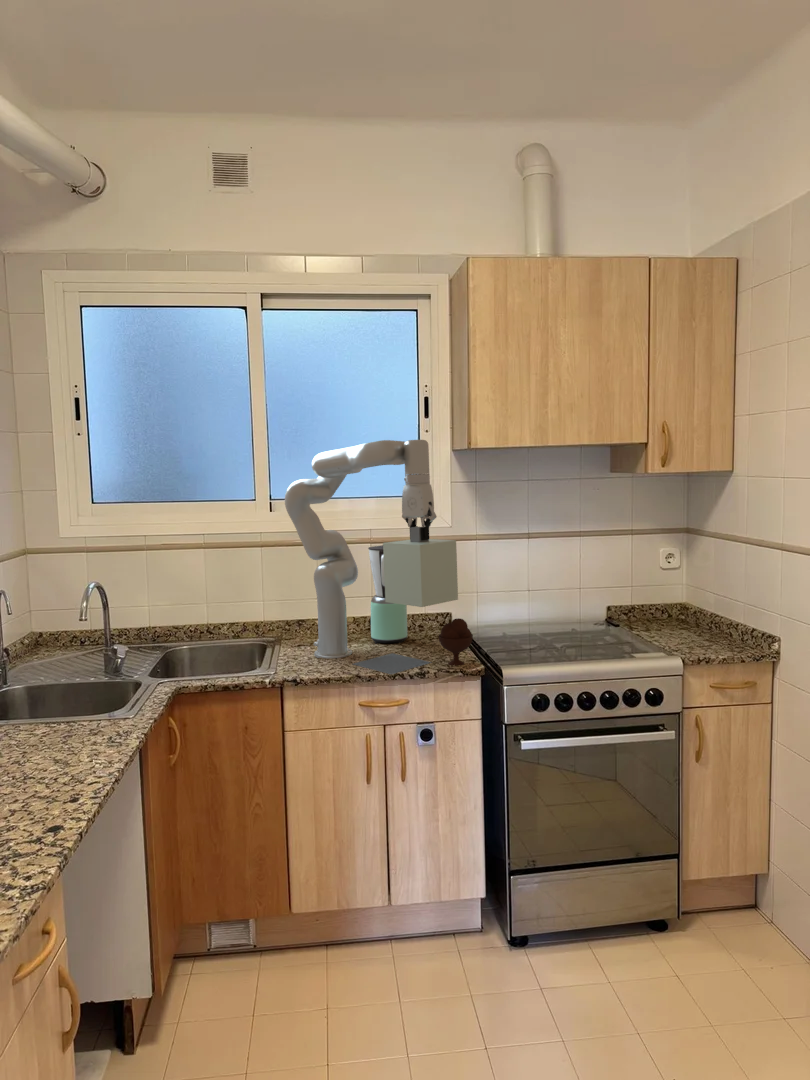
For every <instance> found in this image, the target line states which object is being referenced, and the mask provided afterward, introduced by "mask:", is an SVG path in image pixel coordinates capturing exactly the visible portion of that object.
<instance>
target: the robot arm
mask: <svg viewBox="0 0 810 1080" xmlns="http://www.w3.org/2000/svg"><path fill="white" fill-rule="evenodd" d="M429 450H430V447H429V443H428V440H425V439H409V440H406V441H405V440H403V441H402V440H392V439H391V440H390V439H384V440H376V441H371V442H366V443H362V444H361V443H360V444H358V445H354V446H353V445H352V446H348V447H343V448H338V449H333V450H332V449H331V450H327V451H322V452H319V453H317V454H316V455H315V456H314V457H313V459H312V461H311V468H312V471H313V473H314V474H315V475H316V476H318V477H317V478H301V479H298V480H295V481H293V482H292V483H290V485H289V486H288V487H287V489H286V492H285V494H284V505H285V509H286V512H287V515H288V516H289V518H290V520H291V522H292V524H293V525H294V528H295V530H296V533H297V535H298V537H299V539H300V542H301V544H302V546H303V548H304V551H305V553H306V555H307V556H308V557H309V559H311V560H315V561H321V560H327V561H325V562H322V563H320V564H319V565H318V566H317V567H316V568H315V570H314V573H313V583H314V588H315V593H316V603H317V604H316V605H317V627H318V629H317V631H318V632H317V633H318V639H317V640H316V641H314V642H313V646H315V647H317V649H316V650H315V651H314V653H313V654H314V657H315V658H317V659H320V658H321V659H340V658H346V657H349V656H351V655H352V654H353V650H352V649H351V648H348V623H347V622H348V621H347V601H346V595H345V593H344V590H343V588H345V587H348V586H351V585H352V584H354V583H355V582H356V580H358V576H359V569H358V568H359V567H358V565H357V563H356V560H355V558H354V557H353V553H352V552H351V549H350V547H349V545H348V542H347V541H346V539H345V537H344V536H343V535H342V534H341V533H340V532H338V531H337V530H335V529H327V530H326V529H325V528H324V526H323V523H322V522H321V519H320V517H319V515H318V514H317V513H316V512H315V511H314V510H313V508H312V507H311V505H317V504H323V503H326V502H328V501H329V500H331V498H333V496H334V495H335V493H336V492H337V490H338V489H339V487H340V486H341V484H342V483H343V482H344V480H345V478H346V477H347V476H348V475H353V474H357V473H361V471H362V470H363V469H368V468H375V467H379V466H380V467H381V466H392V465H393V466H401V465H404V482H405V485H403V487H402V497H401V513H402V515H401V518H402V519H403V520H404V521H405V522H406V523H407V526H408V527H409V528H410V527H419V526H418V525H417V524H418V518H420V524H421V526H420V527H421V540H429V539H430V527H431V524H433V521H434V520H436V519H437V514H436V511H435V501H434V493H433V488H432V484H431V478H430V477H431V476H430V452H429Z"/></svg>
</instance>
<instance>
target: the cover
mask: <svg viewBox="0 0 810 1080" xmlns="http://www.w3.org/2000/svg"><path fill="white" fill-rule="evenodd" d="M421 527H422V526H418V527H409V539H405V540H396V541H389V542H382V545H383V553H384V578H385V602H389V603H396V604H403V605H407V606H411V607H418V608H424V607H430V606H435V605H438V604H443V603H447V602H453V601H456V600H457V601H458V600H459V590H458V589H459V588H458V587H459V585H458V584H459V582H458V557H457V556H458V555H457V540H456V539H455V540H453V539H438V538H435V539H434V538H429V540H421Z"/></svg>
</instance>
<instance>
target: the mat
mask: <svg viewBox="0 0 810 1080" xmlns="http://www.w3.org/2000/svg"><path fill="white" fill-rule="evenodd" d="M431 663H433V662H432V661H427V660H423V659H420V658H419V659H418V658H415V657H410V656H407V655H401V654H398V653H397V654H396V653H388V654H384V655H381V656H377V657H373V658H369V659H365V660H362V661H358V662H355V663H352V665H353V666H358V667H361V668H365V669H369V670H373V671H376V672H379V673H384V674H389V675H395V674H397V673H401V672H405V671H407V670H408V671H409V670H412V669H414V668H419V667H423V666H425V665H428V664H431Z"/></svg>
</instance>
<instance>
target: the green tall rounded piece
mask: <svg viewBox="0 0 810 1080" xmlns="http://www.w3.org/2000/svg"><path fill="white" fill-rule="evenodd" d="M367 549H368V553H369V564H370V569H371V575H372V580H373V581H372V582H373V585H374V591H375V594H374V595H373V596H372V598H371V601H370V636H371V637H370V638H371V640H372V641H373V642H374V645H377V644H395V643H396V644H402V643H403V642H404V641H406V640H407V639H408V607H407V606H408V605H403V604H396V603H389V602H385V578H384V553H383V544H382V545H373V546H368V548H367Z"/></svg>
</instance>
